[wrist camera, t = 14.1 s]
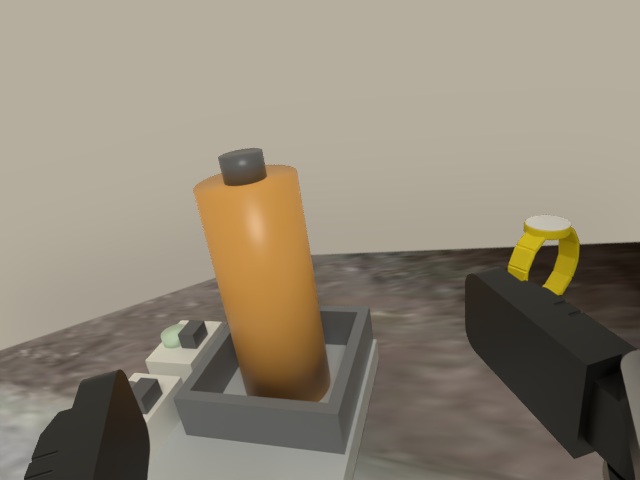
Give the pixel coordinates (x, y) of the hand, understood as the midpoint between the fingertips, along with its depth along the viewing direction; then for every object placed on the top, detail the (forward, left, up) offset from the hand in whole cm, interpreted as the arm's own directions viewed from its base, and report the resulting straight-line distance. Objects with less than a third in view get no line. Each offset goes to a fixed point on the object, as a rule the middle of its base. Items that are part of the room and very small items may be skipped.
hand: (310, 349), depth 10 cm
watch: (-9, -22, -13) cm, 27 cm away
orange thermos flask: (+6, -10, -11) cm, 16 cm away
